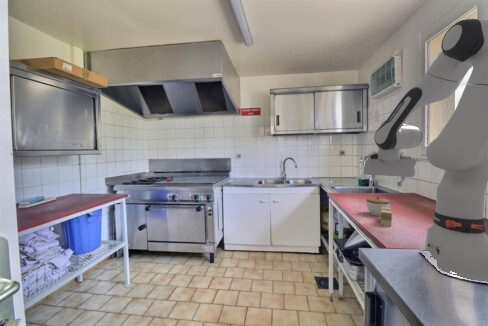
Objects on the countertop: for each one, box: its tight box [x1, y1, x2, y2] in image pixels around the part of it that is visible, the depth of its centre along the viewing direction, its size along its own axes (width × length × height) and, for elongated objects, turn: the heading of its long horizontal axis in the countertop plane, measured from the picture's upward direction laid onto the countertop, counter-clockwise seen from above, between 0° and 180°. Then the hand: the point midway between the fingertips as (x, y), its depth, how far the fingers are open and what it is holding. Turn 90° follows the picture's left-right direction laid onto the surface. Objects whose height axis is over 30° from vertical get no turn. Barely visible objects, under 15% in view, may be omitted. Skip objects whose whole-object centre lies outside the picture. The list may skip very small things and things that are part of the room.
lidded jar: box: [366, 196, 391, 217], centre depth 127 cm, size 11×11×9 cm
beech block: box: [380, 206, 393, 227], centre depth 114 cm, size 12×4×6 cm, turn 150°
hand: (387, 185), depth 113 cm, fingers open, 8 cm apart
